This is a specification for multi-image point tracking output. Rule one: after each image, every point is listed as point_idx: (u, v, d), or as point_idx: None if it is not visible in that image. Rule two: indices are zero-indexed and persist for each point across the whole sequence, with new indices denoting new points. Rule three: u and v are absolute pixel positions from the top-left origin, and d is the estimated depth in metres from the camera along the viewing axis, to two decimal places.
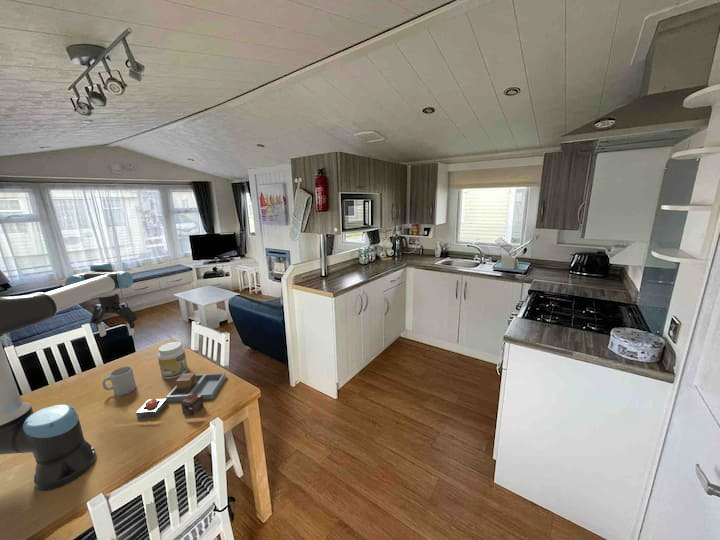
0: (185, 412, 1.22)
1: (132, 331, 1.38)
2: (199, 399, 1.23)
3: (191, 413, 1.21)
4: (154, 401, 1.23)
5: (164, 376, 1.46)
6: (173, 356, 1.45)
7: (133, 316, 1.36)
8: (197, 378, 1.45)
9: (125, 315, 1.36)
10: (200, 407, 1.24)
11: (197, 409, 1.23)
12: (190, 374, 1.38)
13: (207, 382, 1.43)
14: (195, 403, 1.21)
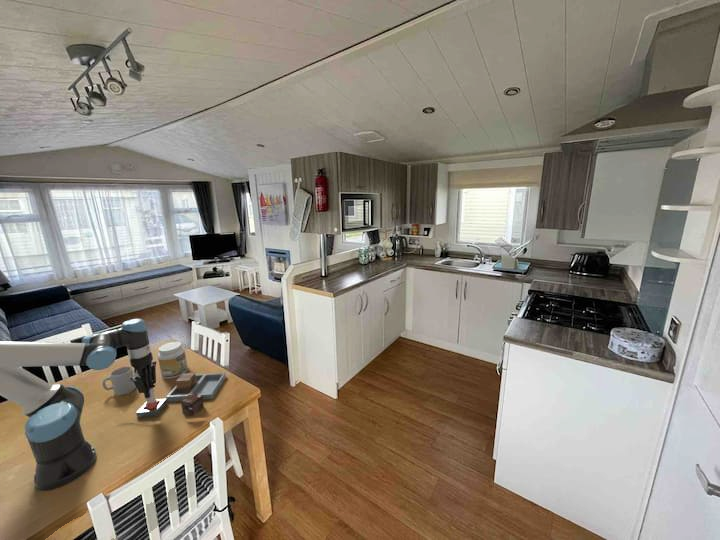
0: (185, 412, 1.22)
1: (149, 400, 1.22)
2: (199, 399, 1.23)
3: (191, 413, 1.21)
4: None
5: (164, 376, 1.46)
6: (173, 356, 1.45)
7: (140, 390, 1.17)
8: (197, 378, 1.45)
9: None
10: (200, 407, 1.24)
11: (197, 409, 1.23)
12: (190, 374, 1.38)
13: (207, 382, 1.43)
14: (195, 403, 1.21)
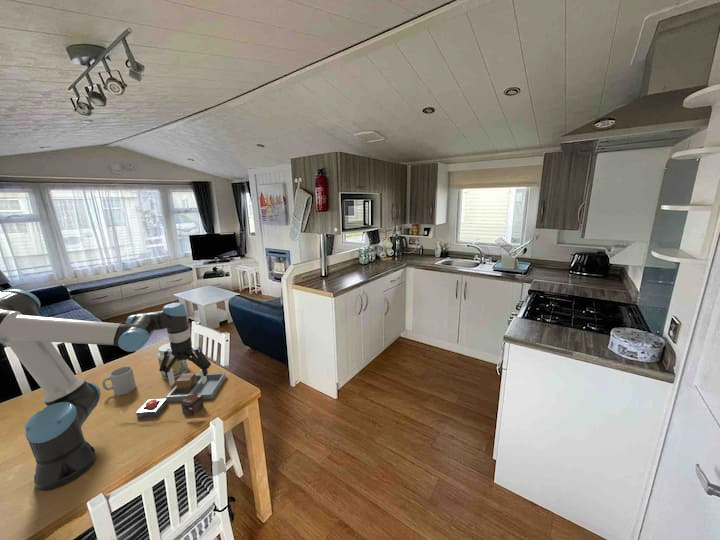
0: (185, 412, 1.22)
1: (205, 378, 1.21)
2: (199, 399, 1.23)
3: (191, 413, 1.21)
4: (154, 401, 1.23)
5: (164, 376, 1.46)
6: (173, 356, 1.45)
7: (207, 362, 1.19)
8: (197, 378, 1.45)
9: (198, 361, 1.19)
10: (200, 407, 1.24)
11: (197, 409, 1.23)
12: (190, 374, 1.38)
13: (207, 382, 1.43)
14: (195, 403, 1.21)
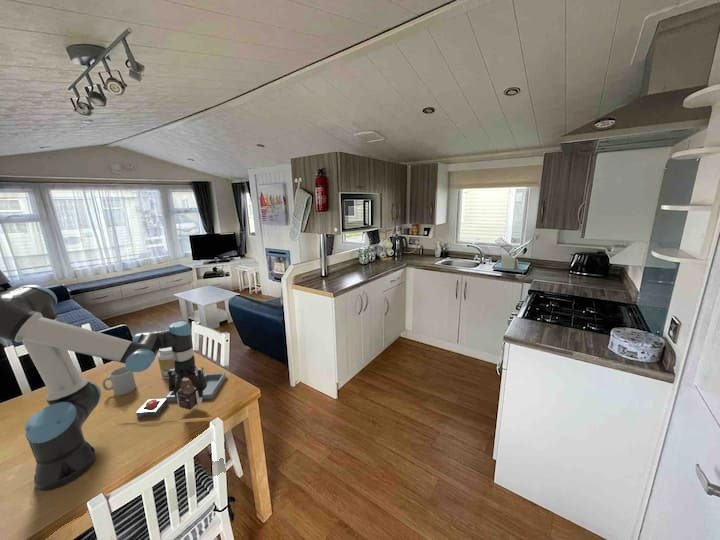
0: (181, 404, 1.20)
1: (200, 400, 1.23)
2: None
3: (188, 405, 1.19)
4: (154, 401, 1.23)
5: (164, 376, 1.46)
6: None
7: (204, 384, 1.21)
8: None
9: (197, 382, 1.21)
10: None
11: (194, 401, 1.21)
12: None
13: (207, 382, 1.43)
14: (192, 395, 1.20)
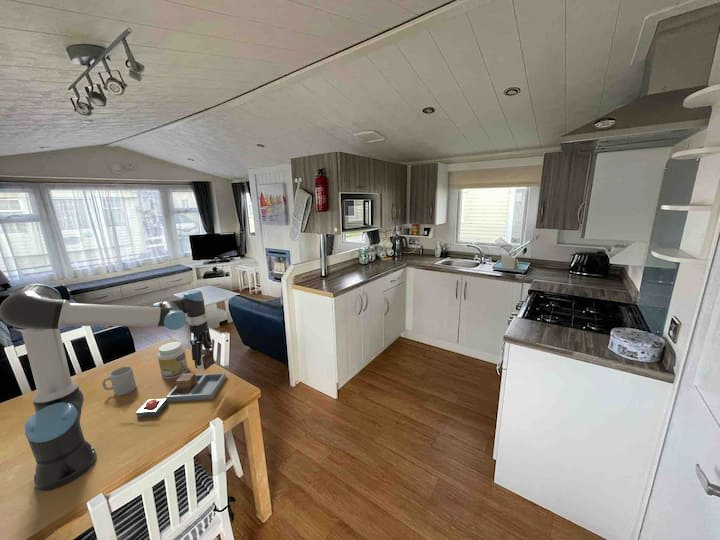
0: None
1: (200, 368, 1.31)
2: None
3: None
4: (154, 401, 1.23)
5: (164, 376, 1.46)
6: (173, 356, 1.45)
7: (194, 356, 1.26)
8: (197, 378, 1.45)
9: None
10: None
11: None
12: (190, 374, 1.38)
13: (207, 382, 1.43)
14: None
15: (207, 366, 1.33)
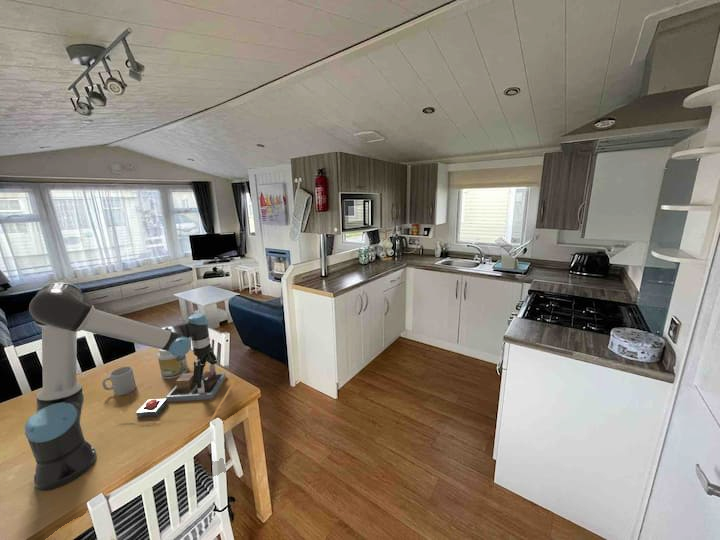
0: None
1: (200, 390, 1.31)
2: (204, 381, 1.34)
3: None
4: (154, 401, 1.23)
5: (164, 376, 1.46)
6: (173, 356, 1.45)
7: (195, 378, 1.27)
8: None
9: None
10: (204, 388, 1.35)
11: None
12: (190, 374, 1.38)
13: None
14: None
15: (210, 388, 1.36)
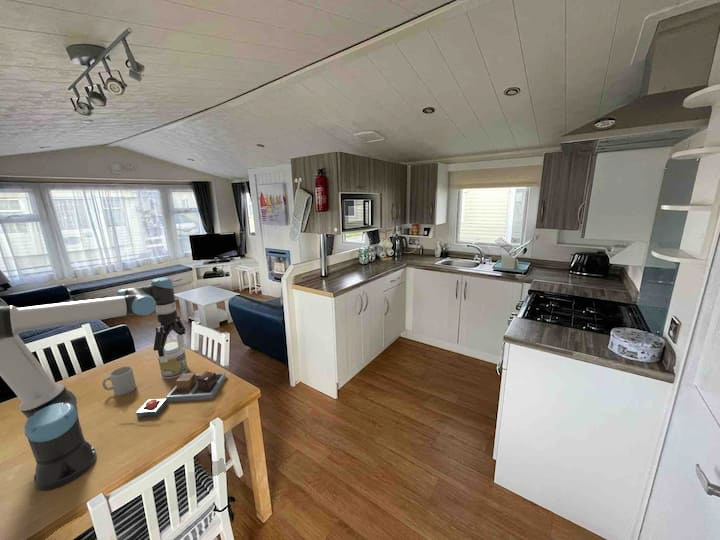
0: None
1: (163, 359, 1.22)
2: (204, 381, 1.34)
3: None
4: (154, 401, 1.23)
5: (164, 376, 1.46)
6: (173, 356, 1.45)
7: (156, 345, 1.18)
8: None
9: None
10: (204, 388, 1.35)
11: (202, 387, 1.35)
12: (190, 374, 1.38)
13: None
14: (200, 381, 1.35)
15: (210, 388, 1.36)
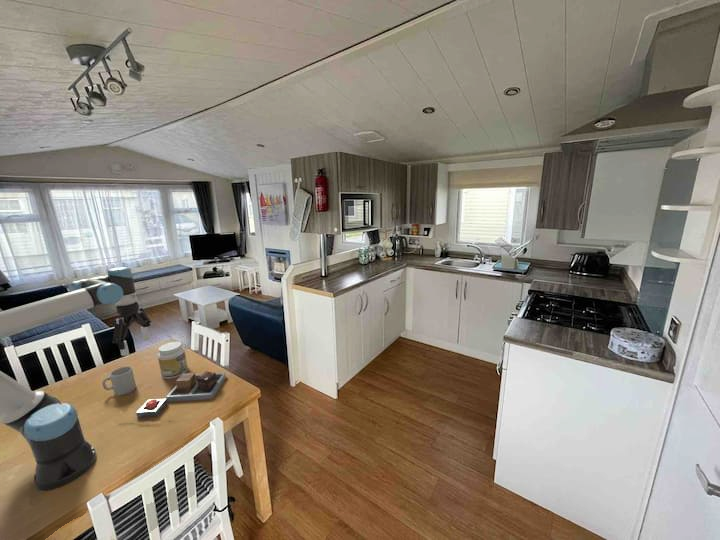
0: None
1: (124, 352, 1.17)
2: (204, 381, 1.34)
3: None
4: (154, 401, 1.23)
5: (164, 376, 1.46)
6: (173, 356, 1.45)
7: (115, 337, 1.13)
8: None
9: None
10: (204, 388, 1.35)
11: (202, 387, 1.35)
12: (190, 374, 1.38)
13: None
14: (200, 381, 1.35)
15: (210, 388, 1.36)
